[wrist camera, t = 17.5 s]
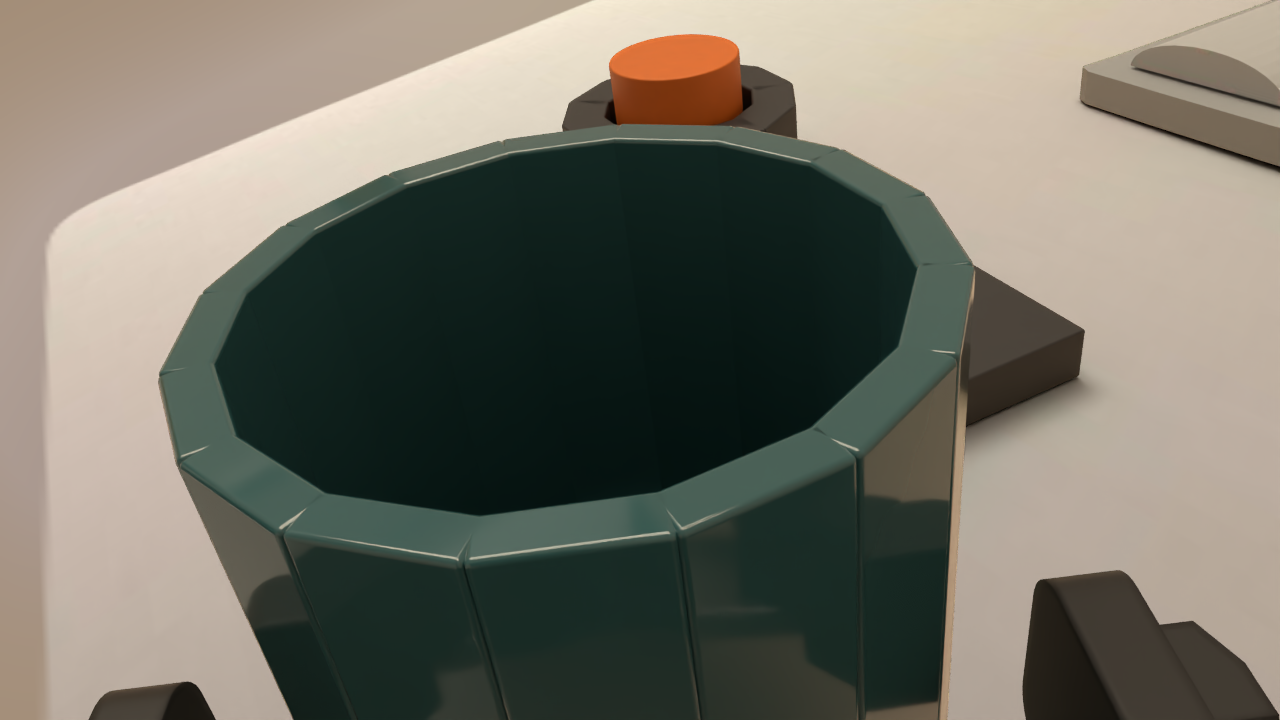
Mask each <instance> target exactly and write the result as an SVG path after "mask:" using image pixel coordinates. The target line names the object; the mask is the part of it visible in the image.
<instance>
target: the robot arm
mask: <svg viewBox="0 0 1280 720" xmlns="http://www.w3.org/2000/svg"><path fill="white" fill-rule="evenodd" d="M1023 703H1024V711H1025V716H1026V720H1279V714H1278V713H1277V711H1276V710H1275V708H1274V707H1273V705H1272V704H1271V702H1270V701H1269V699H1268V697H1267V696H1266V694H1265V693H1264V691H1263V690H1262V688H1261V687H1260V685H1259V684H1258V682H1257V681H1256V679H1255V678H1254V676H1253V674H1252V673H1251V671H1250V670H1249V668H1248V667H1247V665H1246V664H1245V663H1244V662H1243V661H1242V660H1241V659H1240V658H1238V657H1237V656H1236V655H1235V654H1233V653H1232V652H1231V651H1230V650H1228V649H1227V648H1226V647H1225V646H1223V645H1222V644H1221V643H1220V642H1218V641H1217V640H1216V639H1215V638H1213V637H1212V636H1211V635H1210V634H1209V633H1207V632H1206V631H1205V630H1204V629H1202V628H1201V627H1200V626H1199V625H1197V624H1196V623H1195V622H1194V621H1188V622H1179V623H1171V624H1163V625H1159V623H1158V622H1157V620H1156V618H1155V617H1154V615H1153V613H1152V611H1151V610H1150V608H1149V606H1148V605H1147V603H1146V601H1145V600H1144V598H1143V596H1142V595H1141V593H1140V591H1139V589H1138V588H1137V586H1136V585H1135V583H1134V582H1133V580H1132V579H1131V578H1130V577H1129V576H1128V575H1127V574H1126V573H1124V572H1122V571H1120V570H1116V571H1108V572H1099V573H1091V574H1083V575H1075V576H1067V577H1059V578H1051V579H1042V580H1040V581H1038V583H1037V584H1036V586H1035V589H1034V595H1033V602H1032V611H1031V619H1030V627H1029V635H1028V643H1027V652H1026V660H1025V668H1024V676H1023ZM89 720H216V719H215V717H214V715H213V713H212V711H211V710H210V708H209V706H208V704H207V702H206V700H205V698H204V696H203V694H202V692H201V691H200V689H199V688H198V687H197V686H196V685H195V684H193V683H192V682H180V683H172V684H164V685H156V686H148V687H140V688H131V689H123V690H115V691H110V692H108V693H106V694H105V695H104V696H103V697H102V698H100V700H99V701H98V702H97V704H96V705H95V707H94V709H93V711H92V713H91V716H90V718H89Z"/></svg>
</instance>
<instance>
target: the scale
mask: <svg viewBox="0 0 1280 720" xmlns="http://www.w3.org/2000/svg"><path fill="white" fill-rule="evenodd" d="M740 72H741V87H742V102H743V112H742V113H741V114H739V115H738V116H737V117H735V118H734V119H733V120H730V121H726V122H723V123H720V124H717V125H714V126H732V127H734V128H735V127H742V128H747V129H752V130H756V131H761V132H766V133H771V134H775V135H780V136H785V137H789V138H794V139H797V121H796V103H795V96H794V89H793V85H792V83H790V82H789V81H787V80H785V79H783V78H781V77H779V76H777V75H775V74H773V73H771V72H769V71H767V70H765V69H762V68H759V67H756V66H747V65H740ZM614 124H615V125H617V121H616V114H615V106H614V99H613V92H612V84H611V79H609V80H606V81H604V82H602V83H600V84H598V85H597V86H595V87H594V88H592V89H590V90H589V91H587V92H585V93H584V94H582V95H581V96H579V97H577V98H576V99H574V100H573V101H571V102H570V103H569V105H568V109H567V112H566V115H565V118H564V121H563V125H562V128H563V132H564V131H571V130H578V129H585V128H593V127H600V126H607V125H614ZM974 269H975V285H974V301H973V317H972V333H971V349H970V365H969V381H968V397H967V413H966V426H967V425H969V424H971V423H973V422H976V421H978V420H980V419H982V418H985V417H987V416H989V415H991V414H994V413H996V412H998V411H1000V410H1003V409H1005V408H1007V407H1009V406H1012V405H1014V404H1016V403H1018V402H1021V401H1023V400H1025V399H1027V398H1030V397H1032V396H1034V395H1036V394H1039V393H1041V392H1043V391H1045V390H1048V389H1050V388H1052V387H1054V386H1057V385H1059V384H1061V383H1063V382H1066V381H1068V380H1070V379H1072V378H1075V377H1077V376H1078V375H1079V371H1080V363H1081V356H1082V348H1083V340H1084V333H1085V331H1084V329H1082V328H1081V327H1079V326H1077V325H1076V324H1074V323H1072V322H1070V321H1069V320H1067V319H1065V318H1064V317H1062V316H1060V315H1058V314H1057V313H1055V312H1053V311H1052V310H1050V309H1048V308H1046V307H1045V306H1043V305H1041V304H1040V303H1038V302H1036V301H1034V300H1033V299H1031V298H1029V297H1027V296H1026V295H1024V294H1022V293H1021V292H1019V291H1017V290H1015V289H1014V288H1012V287H1010V286H1009V285H1007V284H1005V283H1003V282H1002V281H1000V280H998V279H997V278H995V277H993V276H991V275H990V274H988V273H986V272H985V271H983V270H981V269H979V268H978V267H976V266H974Z"/></svg>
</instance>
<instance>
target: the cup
mask: <svg viewBox="0 0 1280 720" xmlns="http://www.w3.org/2000/svg"><path fill="white" fill-rule="evenodd" d="M974 285H975V269H974V265H973V263H972V261H971V259H970V258H969V256H968V255H967V253H966V252H965V250H964V249H963V247H962V246H961V244H960V243H959V241H958V240H957V238H956V237H955V235H954V234H953V232H952V231H951V229H950V228H949V226H948V225H947V223H946V222H945V220H944V219H943V217H942V216H941V214H940V213H939V211H938V210H937V208H936V207H935V205H934V204H933V202H932V201H931V199H930V198H929V197H928V196H926V195H925V193H924V192H922V191H921V190H919V189H917V188H915V187H913V186H911V185H909V184H907V183H906V182H904V181H902V180H900V179H898V178H896V177H894V176H892V175H891V174H889V173H887V172H885V171H883V170H881V169H879V168H878V167H876V166H874V165H872V164H870V163H868V162H866V161H864V160H863V159H861V158H859V157H857V156H855V155H853V154H851V153H849V152H848V151H846V150H839V149H838V148H837V147H832V146H827V145H822V144H818V143H813V142H808V141H804V140H799V139H794V138H789V137H785V136H780V135H775V134H771V133H766V132H761V131H756V130H752V129H747V128H742V127H735V128H734V127H732V126H707V125H654V124H622V125H615V124H614V125H607V126H600V127H593V128H585V129H578V130H571V131H564V132H556V133H549V134H542V135H534V136H527V137H520V138H513V139H506V140H504V141H503V142H501V141H497V142H493V143H490V144H487V145H483V146H480V147H476V148H473V149H470V150H466V151H463V152H459V153H456V154H453V155H449V156H446V157H442V158H439V159H436V160H432V161H429V162H426V163H422V164H419V165H415V166H412V167H409V168H405V169H402V170H398V171H395V172H392V173H390V174H389V175H384V176H382V177H380V178H378V179H376V180H373V181H371V182H369V183H367V184H365V185H363V186H361V187H359V188H357V189H355V190H353V191H351V192H349V193H347V194H345V195H343V196H341V197H339V198H337V199H335V200H333V201H331V202H329V203H327V204H325V205H323V206H321V207H319V208H317V209H315V210H313V211H311V212H309V213H307V214H305V215H303V216H301V217H299V218H297V219H294V220H292V221H290V222H288V223H287V224H286V225H285V226H282V227H280V228H279V229H277V230H276V231H275V232H274V233H273V234H271V235H270V236H269V237H268V238H267V239H265V240H264V241H263V242H262V243H261V244H259V245H258V246H257V247H256V248H255V249H253V250H252V251H251V252H250V253H249V254H247V255H246V256H245V257H244V258H243V259H241V260H240V261H239V262H238V263H237V264H235V265H234V266H233V267H232V268H231V269H229V270H228V271H227V272H226V273H225V274H223V275H222V276H221V277H220V278H218V279H217V280H216V281H215V282H214V283H212V284H211V285H210V286H209V287H208V288H206V289H205V290H204V292H203V294H202V295H200V296H199V298H198V299H197V301H196V303H195V305H194V307H193V309H192V311H191V313H190V315H189V317H188V319H187V320H186V322H185V324H184V326H183V328H182V330H181V332H180V334H179V336H178V338H177V340H176V341H175V343H174V345H173V347H172V349H171V351H170V353H169V355H168V357H167V359H166V361H165V363H164V364H163V366H162V368H161V370H160V372H159V381H158V384H159V389H160V394H161V398H162V403H163V407H164V412H165V416H166V421H167V425H168V430H169V434H170V439H171V443H172V448H173V453H174V457H175V462H176V465H177V467H178V469H179V471H180V474H181V476H182V478H183V480H184V482H185V485H186V487H187V489H188V491H189V493H190V496H191V498H192V500H193V502H194V504H195V506H196V509H197V511H198V513H199V515H200V517H201V520H202V522H203V524H204V526H205V528H206V531H207V533H208V535H209V537H210V539H211V541H212V544H213V546H214V548H215V550H216V552H217V555H218V557H219V559H220V561H221V563H222V566H223V568H224V570H225V572H226V574H227V576H228V579H229V581H230V583H231V585H232V587H233V590H234V592H235V594H236V596H237V598H238V601H239V603H240V605H241V607H242V609H243V611H244V614H245V616H246V618H247V620H248V622H249V625H250V627H251V629H252V631H253V633H254V636H255V638H256V640H257V642H258V644H259V646H260V649H261V651H262V653H263V655H264V657H265V660H266V662H267V664H268V666H269V668H270V671H271V673H272V675H273V677H274V679H275V681H276V684H277V686H278V688H279V690H280V692H281V695H282V697H283V699H284V701H285V703H286V706H287V708H288V710H289V712H290V714H291V717H292V719H293V720H947V717H948V701H949V685H950V669H951V653H952V637H953V621H954V605H955V589H956V573H957V557H958V541H959V525H960V509H961V493H962V477H963V461H964V445H965V429H966V413H967V397H968V381H969V365H970V349H971V333H972V317H973V301H974Z"/></svg>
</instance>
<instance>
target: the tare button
mask: <svg viewBox="0 0 1280 720" xmlns="http://www.w3.org/2000/svg"><path fill="white" fill-rule="evenodd" d="M609 70H610V77H611V84H612V92H613V99H614V106H615V114H616V121H617V125H622V124H654V125H707V126H714V125H717V124H720V123H723V122H726V121H730V120H733V119H734V118H735V117H737V116H738V115H739V114H741V113H742V112H743V102H742V87H741V72H740V57H739V49H738V47H737V45H736V44H734V43H733V42H732V41H730V40H727V39H725V38H721V37H716V36H710V35H697V34H689V35H674V36H666V37H660V38H655V39H650V40H646V41H643V42H640V43H637V44H634V45H631V46H629V47H627V48H625V49H623V50H621V51H619V52H618V53H616V54H615V55H614V56H613V57H612V59H611V60H610V63H609Z"/></svg>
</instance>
